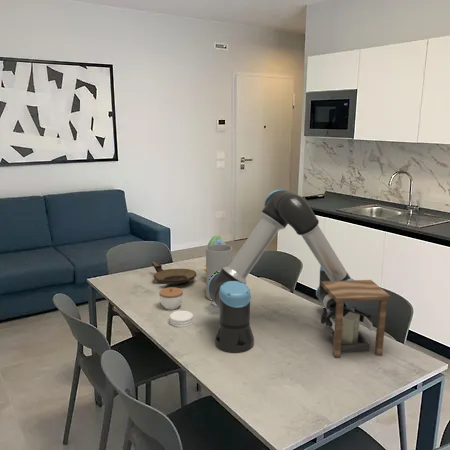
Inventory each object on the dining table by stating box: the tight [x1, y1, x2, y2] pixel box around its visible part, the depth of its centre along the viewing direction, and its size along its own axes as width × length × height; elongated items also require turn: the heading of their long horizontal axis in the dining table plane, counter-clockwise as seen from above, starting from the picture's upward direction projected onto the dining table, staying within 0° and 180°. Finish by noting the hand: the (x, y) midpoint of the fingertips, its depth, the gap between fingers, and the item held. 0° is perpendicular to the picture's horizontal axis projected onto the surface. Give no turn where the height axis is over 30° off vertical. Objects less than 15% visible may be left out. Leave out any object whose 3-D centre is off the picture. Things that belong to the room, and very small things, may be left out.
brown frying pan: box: [151, 261, 197, 285], centre depth 242 cm, size 22×30×8 cm
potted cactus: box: [203, 235, 226, 273], centre depth 239 cm, size 15×15×25 cm
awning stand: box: [321, 279, 392, 359], centre depth 170 cm, size 17×20×24 cm
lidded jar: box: [159, 286, 184, 311], centre depth 208 cm, size 11×11×9 cm
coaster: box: [169, 310, 194, 328], centre depth 193 cm, size 10×10×4 cm
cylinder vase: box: [205, 244, 233, 301], centre depth 218 cm, size 12×12×25 cm
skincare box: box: [341, 312, 360, 344], centre depth 173 cm, size 6×4×12 cm
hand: (353, 327), depth 169 cm, fingers open, 13 cm apart
